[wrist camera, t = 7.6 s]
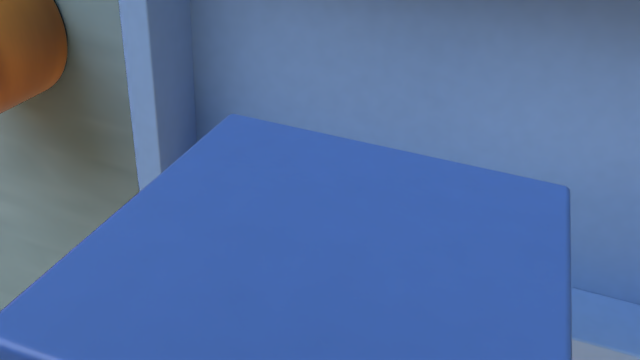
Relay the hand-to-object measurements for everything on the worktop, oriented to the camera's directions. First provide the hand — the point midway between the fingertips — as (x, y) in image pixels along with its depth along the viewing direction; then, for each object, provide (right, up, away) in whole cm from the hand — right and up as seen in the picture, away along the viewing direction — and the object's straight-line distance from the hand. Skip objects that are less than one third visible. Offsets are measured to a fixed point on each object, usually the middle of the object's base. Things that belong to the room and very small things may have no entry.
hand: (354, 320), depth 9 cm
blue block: (0, 0, +1) cm, 1 cm away
